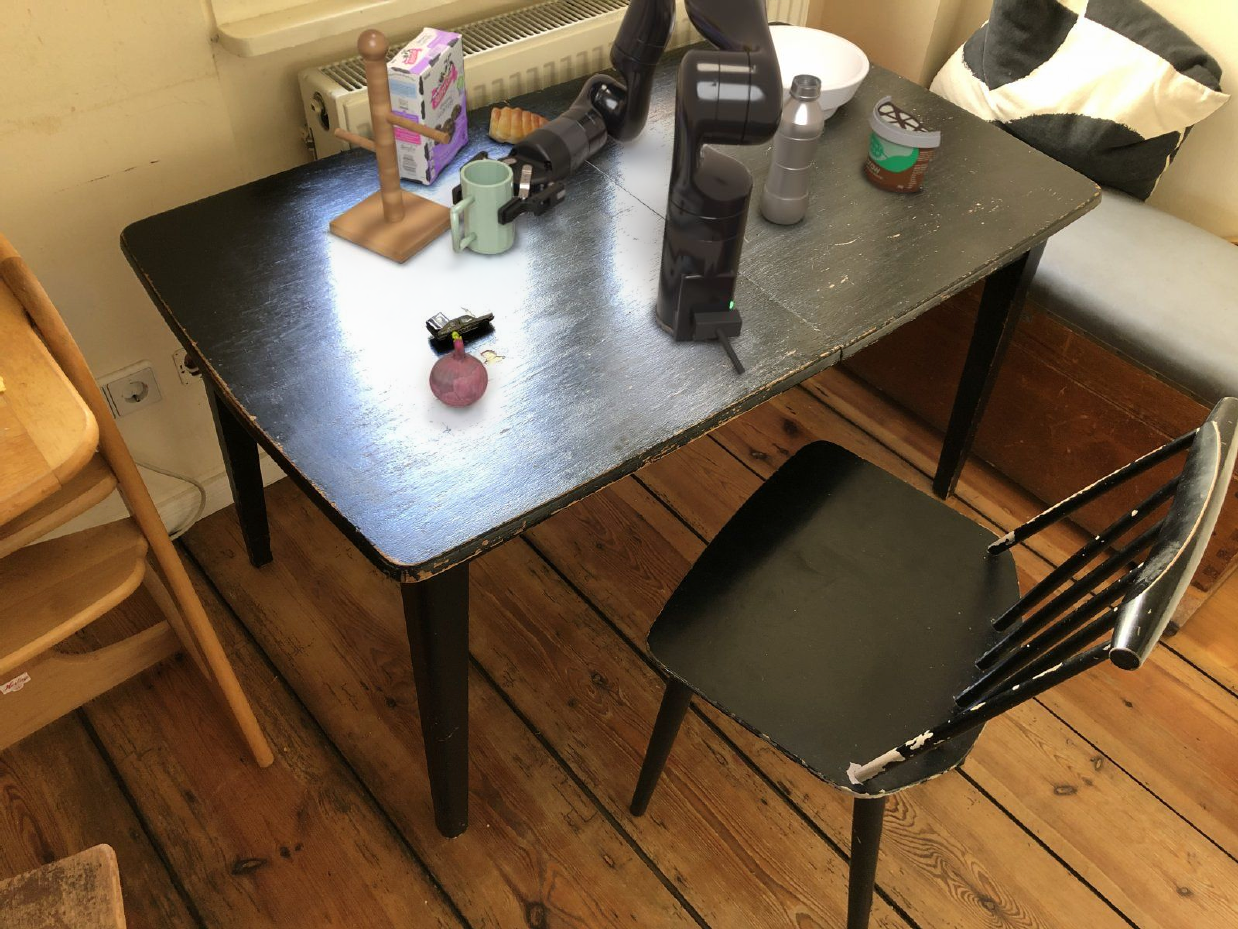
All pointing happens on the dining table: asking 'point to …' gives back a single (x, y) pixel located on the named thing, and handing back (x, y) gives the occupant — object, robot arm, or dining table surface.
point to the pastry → (513, 124)
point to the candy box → (429, 102)
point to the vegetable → (458, 377)
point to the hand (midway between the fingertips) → (477, 208)
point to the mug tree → (389, 173)
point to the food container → (898, 148)
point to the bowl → (820, 63)
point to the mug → (483, 208)
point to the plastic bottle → (793, 153)
